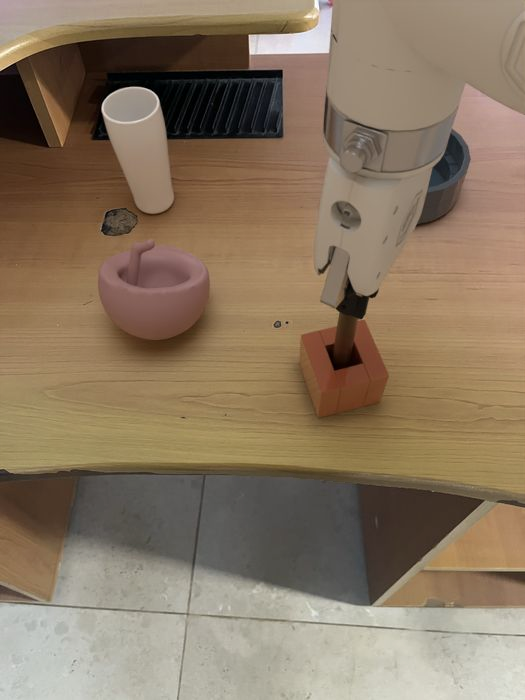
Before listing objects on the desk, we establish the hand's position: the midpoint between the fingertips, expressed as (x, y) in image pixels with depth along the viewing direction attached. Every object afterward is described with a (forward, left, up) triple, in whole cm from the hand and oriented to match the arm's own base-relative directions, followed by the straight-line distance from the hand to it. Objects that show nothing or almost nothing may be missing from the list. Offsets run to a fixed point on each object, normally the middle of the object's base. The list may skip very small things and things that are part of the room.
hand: (353, 299), depth 49 cm
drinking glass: (+15, -33, -16) cm, 39 cm away
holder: (0, 0, -15) cm, 15 cm away
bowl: (-18, -26, -15) cm, 35 cm away
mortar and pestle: (+17, -14, -16) cm, 27 cm away
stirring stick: (0, 0, -15) cm, 15 cm away
